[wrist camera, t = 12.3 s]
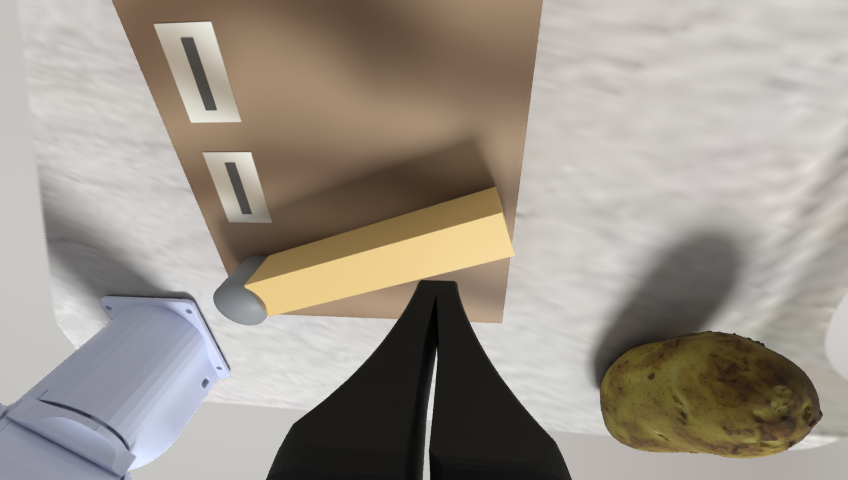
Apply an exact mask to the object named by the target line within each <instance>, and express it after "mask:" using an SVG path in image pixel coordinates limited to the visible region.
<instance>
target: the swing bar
mask: <svg viewBox="0 0 848 480" xmlns="http://www.w3.org/2000/svg"><path fill="white" fill-rule="evenodd" d="M511 256H515V255H514V251H513V247H512V243H511V239H510V235H509V231H508V227H507V223H506V220H505V216H504V213H503V209H502V206H501V203H500V199H499V196H498V192H497V189H496V187H493V188H489V189H486V190H483V191H480V192H476V193H473V194H470V195H466V196H463V197H460V198H457V199H453V200H450V201H447V202H443V203H440V204H437V205H434V206H430V207H427V208H424V209H420V210H417V211H414V212H411V213H407V214H404V215H401V216H398V217H394V218H391V219H388V220H384V221H381V222H378V223H375V224H371V225H368V226H365V227H361V228H358V229H355V230H352V231H348V232H345V233H342V234H338V235H335V236H332V237H329V238H325V239H322V240H319V241H315V242H312V243H309V244H306V245H302V246H299V247H296V248H292V249H289V250H286V251H283V252H279V253H276V254H273V255H269V256H268V257H266V256H262V255H253V256H249V257H247V258H246V259H245V260H244V261H243V262H242V263H241V264H240V265H239V266H238V267H237V268H236V269H235V270H234V271H233V273H232V274H231V275H230V276H229V277H228V278H227V279H226V280H225V281H224V282H223V283H222V284H221V286H220V287H219V288H218V289H217V290H216V291H215V293H214V296H213V299H214V303H215V306H216V307H217V309H218V310H219V311H220V312H221V313H222V314H223V315H224V316H225V317H227V318H228V319H230V320H232V321H234V322H236V323H239V324H243V325H257V324H259V323H261V322H263V321H264V320H265V319H266V317H267V316H269V317H270V316H274V315H278V314H282V313H286V312H290V311H294V310H298V309H302V308H306V307H310V306H314V305H318V304H322V303H326V302H330V301H334V300H338V299H342V298H346V297H350V296H354V295H358V294H362V293H366V292H370V291H374V290H378V289H382V288H386V287H390V286H394V285H399V284H403V283H407V282H411V281H415V280H419V279H423V278H427V277H431V276H435V275H439V274H443V273H447V272H451V271H455V270H459V269H463V268H467V267H471V266H475V265H479V264H483V263H487V262H491V261H495V260H499V259H503V258H507V257H511Z"/></svg>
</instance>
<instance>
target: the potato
mask: <svg viewBox="0 0 848 480" xmlns="http://www.w3.org/2000/svg"><path fill="white" fill-rule="evenodd" d="M600 404H601V411H602V415H603V419H604V422H605V426H606V428H607V430H608V431H609V432H610V434H611V435H612V436H613V437H614V438H615V439H617V440H618V441H619V442H621V443H622V444H625V445H627V446H629V447H632V448H634V449H638V450H642V451H649V452H671V453H673V452H690V453H709V454H715V455H720V456H723V457H731V458H756V457H763V456H769V455H772V454H776V453H779V452H782V451H784V450H787V449H789V448H790V447H792V446H794V445H795V444H797V443H798V442H800V441H802V440H803V439H804V438H805V437H806V436H807V435H808V434H809V433H810V431H811V429H812V428H813V427H814V426H815V425H816V424H817V422H818V421H820V420H821V418H822V416H823V414H822V412H821V410H820V404H819V398H818V394H817V391H816V389H815V387H814V385H813V384H812V382H811V380H810V379H809V377H808V376H807V375H806V373H805V372H804V371H803V370H802V369H801V368H799V367H798V366H797V365H796V364H794V363H793V362H792V361H790V360H789V359H787V358H786V357H784V356H782V355H780V354H778V353H776V352H774V351H772V350H770V349H768V348H766V347H765V345H764V344H763V343H760V342H759V341H753V340H752V339H751V338H745V337H742V336H739V335H736V334H735V333H733V334H728V333H722V332H712V331H706V332H701V333H692V334H686V335H682V336H678V337H674V338H671V339H669V340H667V341H662V342H654V343H648V344H644V345H640V346H637V347H635V348H632V349H630V350H629V351H627V352H625V353H624V354H623V355H621V356H620V357H619V358H618V359H617V360H616V361H615V362H614V363H613V364H612V365H611V366H610V368H609V369H608V370H607V372H606V374H605V376H604V378H603V380H602V383H601V388H600Z"/></svg>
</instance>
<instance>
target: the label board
mask: <svg viewBox="0 0 848 480" xmlns="http://www.w3.org/2000/svg"><path fill="white" fill-rule="evenodd" d="M112 2H113V4H114V6H115V9H116V11H117V14H118V16H119V18H120V21H121V23H122V25H123V28H124V30H125V33H126V35H127V37H128V40H129V42H130V44H131V47H132V49H133V51H134V54H135V56H136V59H137V61H138V63H139V66H140V68H141V70H142V73H143V75H144V77H145V80H146V82H147V85H148V87H149V89H150V92H151V94H152V96H153V99H154V101H155V103H156V106H157V108H158V111H159V113H160V115H161V118H162V120H163V122H164V125H165V127H166V130H167V132H168V134H169V137H170V139H171V141H172V144H173V146H174V148H175V151H176V153H177V156H178V158H179V160H180V163H181V165H182V167H183V170H184V172H185V174H186V177H187V179H188V182H189V184H190V186H191V189H192V191H193V193H194V196H195V198H196V201H197V203H198V205H199V208H200V210H201V212H202V215H203V217H204V219H205V222H206V224H207V227H208V229H209V231H210V234H211V236H212V238H213V241H214V243H215V245H216V248H217V250H218V253H219V255H220V257H221V260H222V262H223V264H224V267H225V269H226V271H227V274H228V276H230V275H231V274H232V273H233V271H234V270H235V269H236V268H237V267H238V266H239V265H240V264H241V263H242V262H243V261H244V260H245V259H246V258H247V257H249V256H253V255H262V256H266V257H268V256H269V255H273V254H276V253H279V252H283V251H286V250H289V249H292V248H296V247H299V246H302V245H306V244H309V243H312V242H315V241H319V240H322V239H325V238H329V237H332V236H335V235H338V234H342V233H345V232H348V231H352V230H355V229H358V228H361V227H365V226H368V225H371V224H375V223H378V222H381V221H384V220H388V219H391V218H394V217H398V216H401V215H404V214H407V213H411V212H414V211H417V210H420V209H424V208H427V207H430V206H434V205H437V204H440V203H443V202H447V201H450V200H453V199H457V198H460V197H463V196H466V195H470V194H473V193H476V192H480V191H483V190H486V189H489V188H493V187H496V189H497V192H498V196H499V199H500V203H501V206H502V209H503V213H504V216H505V220H506V223H507V227H508V231H509V235H510V239H511V243H512V239H513V231H514V224H515V216H516V208H517V200H518V192H519V184H520V176H521V168H522V160H523V153H524V145H525V137H526V129H527V121H528V113H529V105H530V97H531V89H532V81H533V74H534V66H535V58H536V50H537V42H538V34H539V26H540V18H541V10H542V3H543V0H112ZM509 263H510V257H507V258H503V259H499V260H495V261H491V262H487V263H483V264H479V265H475V266H471V267H467V268H463V269H459V270H455V271H451V272H447V273H443V274H439V275H435V276H431V277H427V278H423V279H419V280H415V281H411V282H407V283H403V284H399V285H394V286H390V287H386V288H382V289H378V290H374V291H370V292H366V293H362V294H358V295H354V296H350V297H346V298H342V299H338V300H334V301H330V302H326V303H322V304H318V305H314V306H310V307H306V308H302V309H298V310H294V311H290V312H286V313H282V314H284V315H310V316H335V317H360V318H385V319H399V318H400V316H401V315H402V313H403V311H404V310H405V308H406V306H407V305H408V303H409V301H410V299H411V298H412V296H413V294H414V292H415V289H416V287H417V285H418V282H419V281H421V280H441V281H455V282H456V283H457V284H458V291H459V295H460V299H461V302H462V305H463V307H464V310H465V313H466V315H467V317H468V320H469V322H485V323H502V318H503V310H504V302H505V295H506V287H507V279H508V271H509Z"/></svg>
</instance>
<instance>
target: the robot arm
mask: <svg viewBox="0 0 848 480" xmlns="http://www.w3.org/2000/svg"><path fill="white" fill-rule="evenodd" d="M100 304H101V305H102V306H103V308H104V309H105V311H106V312H107V313H108V315H109V316H110V318H111V319H112V321H111V322H110V323H108V324H107V325H106V326H105V327H104V328H103V329H101V330H100V331H99V332H98V333H97V334H95V335H94V336H93V337H92V338H91V339H90V340H88V341H87V342H86V343H85V344H84V345H82V346H81V347H80V348H79V349H78V350H77V351H75V352H74V353H73V354H72V355H71V356H69V357H68V358H67V359H66V360H65V361H64V362H62V363H61V364H60V365H59V366H58V367H56V368H55V369H54V370H53V371H52V372H51V373H49V374H48V375H47V376H46V377H45V378H44V379H42V380H41V381H40V382H39V383H38V384H36V385H35V386H34V387H33V388H32V389H31V390H29V391H28V392H27V393H26V394H25V395H23V396H22V397H21V398H20V399H19V400H18V401H16V402H15V403H13V404H11V405H9V406H7V407H6V406H4V405H2V404H1V403H0V480H132V476H131V474H130V473H129V472H127V471H128V470H132V469H136V468H139V467H141V466H143V465H145V464H147V463H149V462H151V461H152V460H154V459H155V458H157V457H158V456H160V455H161V454H162V453H163V452H165V451H166V450H167V449H168V448H169V447H170V446H171V445H172V444H173V443H174V442H175V440H176V439H177V438H178V437H179V435H180V434H181V432H182V431H183V429H184V428H185V427H186V425H187V424H188V422H189V421H190V419H191V418H192V416H193V415H194V414H195V412H196V411H197V409H198V408H199V406H200V405H201V403H202V402H203V400H204V399H205V397H206V396H207V394H208V393H209V392H210V390H211V389H212V387H213V386H214V384H215V383H216V381H217V380H218V378H228V377H229V375H230V374H231V373H230V371H229V369H228V367H227V365H226V363H225V361H224V359H223V357H222V355H221V353H220V351H219V349H218V348H217V346H216V344H215V342H214V340H213V338H212V336H211V334H210V332H209V330H208V328H207V326H206V324H205V322H204V320H203V319H202V317H201V315H200V313H199V311H198V309H197V307H196V305H195V303H194V302H193V301H192V300H189V299H171V298H143V297H116V296H104V297H103V298H101V299H100ZM436 350H437V358H438V360H437V372H436V384H435V395H434V406H433V417H432V427H431V436H430V446H429V460H430V480H572V479H571V477H570V474H569V471H568V468H567V466H566V463H565V461H564V459H563V456H562V454H561V452H560V450H559V448H558V446H557V444H556V442H555V441H554V440H553V439H552V438H551V437H550V435H548V433H547V432H546V431H545V430H544V429H543V428H542V427H541V426H540V425H539V424H538V423H537V421H536V420H535V419H534V418H533V417H532V416H531V415H530V414H529V412H528V411H527V410H526V409H525V408H524V406H523V405H522V404H521V403H520V402H519V400H518V399H517V398H516V396H515V395H514V394H513V393H512V391H511V390H510V389H509V387H508V386H507V385H506V383H505V382H504V381H503V379H502V378H501V377H500V375H499V374H498V372H497V371H496V369H495V368H494V366H493V365H492V363H491V361H490V360H489V358H488V357H487V355H486V353H485V351H484V350H483V348H482V346H481V344H480V343H479V341H478V339H477V337H476V335H475V333H474V331H473V329H472V327H471V324H470V322H469V320H468V317H467V315H466V313H465V310H464V307H463V305H462V302H461V299H460V295H459V291H458V284H457V283H456V282H455V281H441V280H421V281H419V282H418V285H417V287H416V289H415V292H414V294H413V296H412V298H411V299H410V301H409V303H408V305H407V306H406V308H405V310H404V311H403V313H402V315H401V316H400V318H399V319H398V321H397V322H396V324H395V325H394V327H393V328H392V329H391V331H390V332H389V334H388V335H387V336H386V338H385V339H384V340H383V342H382V343H381V344H380V345H379V347H378V348H377V349H376V350H375V351H374V352H373V354H372V355H371V356H370V357H369V358H368V359H367V360H366V361H365V362H364V363H363V365H362V366H361V367H360V368H359V369H358V370H357V371H356V372H355V373H354V374H353V375H352V376H351V377H350V378H349V379H348V380H347V381H345V382H344V383H343V384H342V385H341V386H340V387H339V388H338V389H336V390H335V391H334V392H333V393H332V394H331V395H330V396H329V397H327V398H326V399H325V400H324V401H323V402H321V403H320V404H319V405H318V406H316V407H315V408H314V409H312V410H311V411H310V412H309V413H307V414H306V415H305V416H303V417H302V418H301V419H299V420H298V421H297V422H296V423H294V424H293V425H292V427H291V429H290V430H289V432H288V434H287V435H286V437H285V439H284V441H283V443H282V445H281V447H280V448H279V450H278V452H277V455H276V457H275V459H274V462H273V464H272V466H271V469H270V471H269V474H268V476H267V479H266V480H423V465H424V449H425V448H424V447H425V434H426V419H427V409H428V401H429V394H430V388H431V382H432V375H433V369H434V363H435V356H436Z"/></svg>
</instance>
